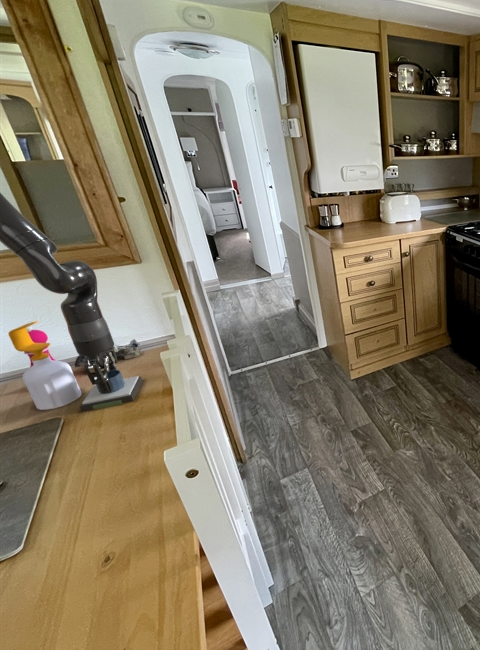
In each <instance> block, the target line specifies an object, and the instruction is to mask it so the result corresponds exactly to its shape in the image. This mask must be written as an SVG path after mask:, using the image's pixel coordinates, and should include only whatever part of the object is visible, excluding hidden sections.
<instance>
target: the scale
mask: <svg viewBox="0 0 480 650" xmlns="http://www.w3.org/2000/svg"><path fill="white" fill-rule="evenodd" d="M123 380H124V382H125V384H124V387H123V388H122V389H120V390H118V391H116V392H113V393H109V394H101V393H99V392H98V390H97V387H96V385H92V388H91V389H90V390H89V392H88V394H87V395H86V397H85V398H84V399H83V400H82V403H81V404H80V406H79V408H80V410H81V412H87V411H91V410H98V409H99V410H100V409H103V408H108V407H109V408H110V407H113V406H118V405H123V404H126V403H131V402H133V401H135V399H136V396H137V394H138V392H139V390H140V388H141V386H142V384H143V381H144V380H143V377H142V376H137V375H136V376H131V377H125V378H123Z"/></svg>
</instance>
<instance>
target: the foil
mask: <svg viewBox="0 0 480 650" xmlns="http://www.w3.org/2000/svg"><path fill="white" fill-rule="evenodd" d="M140 345H141V344H140V342H138V341H137V340H136V339H135V338H133V339H132V340H131V341H130V343H129V344H128V345H125V346H124V345H119V344H114V346H113V347H114V351H115V354H116V357H118V355H120V354H123V356H124V360H128V359H134V358H137V357H140V356H141V347H140ZM73 364H74V368H85V366H89V364H88V357H87V356H84V355H79V354H78V355H77V356H76V358H75V361H74V363H73Z"/></svg>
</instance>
